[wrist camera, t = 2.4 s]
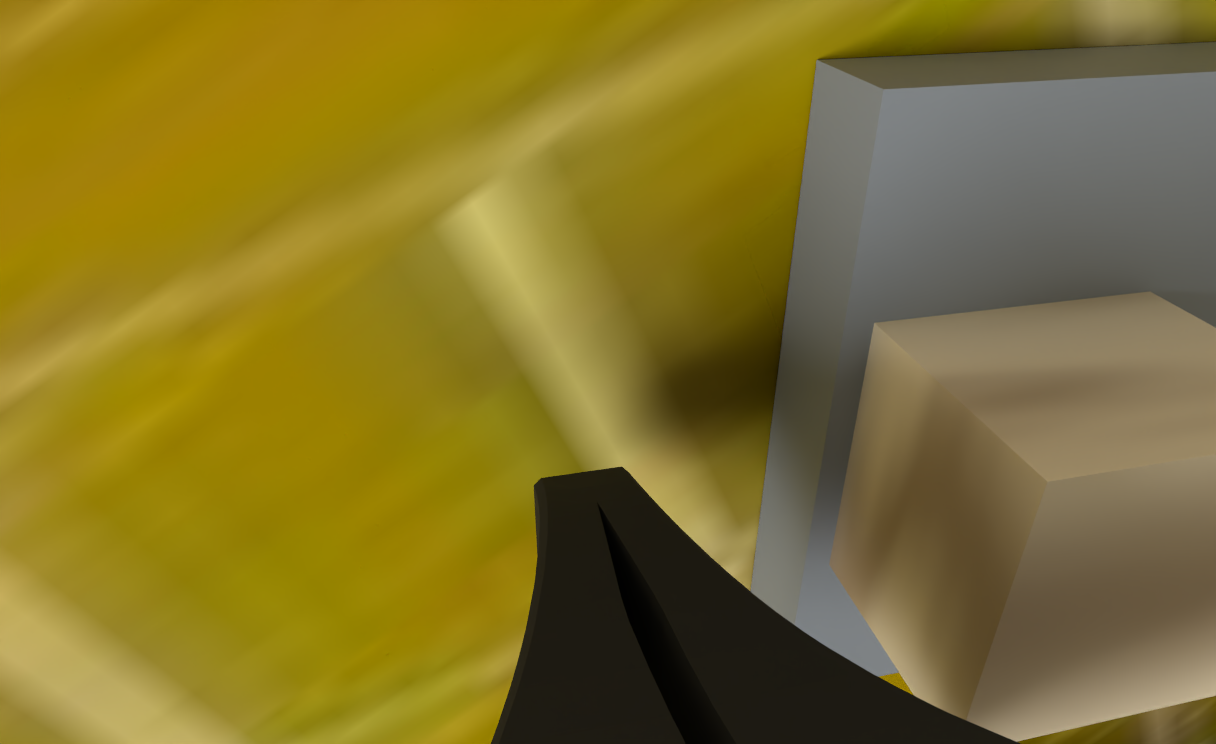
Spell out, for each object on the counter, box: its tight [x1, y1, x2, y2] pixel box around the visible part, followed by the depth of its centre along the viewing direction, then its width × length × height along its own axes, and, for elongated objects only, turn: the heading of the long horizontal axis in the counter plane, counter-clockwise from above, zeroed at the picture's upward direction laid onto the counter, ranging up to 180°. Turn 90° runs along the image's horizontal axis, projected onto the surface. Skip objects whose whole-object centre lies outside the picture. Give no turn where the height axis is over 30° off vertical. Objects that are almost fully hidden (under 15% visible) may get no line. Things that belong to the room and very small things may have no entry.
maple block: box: [829, 291, 1216, 742], centre depth 13 cm, size 5×5×4 cm
